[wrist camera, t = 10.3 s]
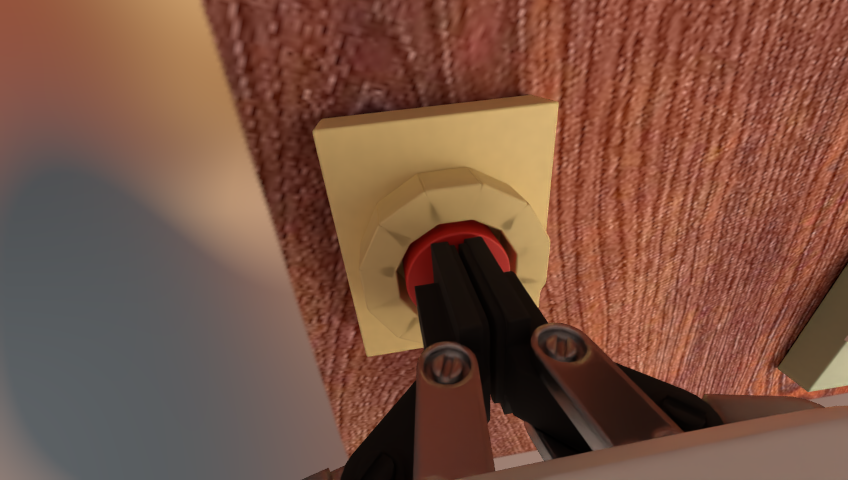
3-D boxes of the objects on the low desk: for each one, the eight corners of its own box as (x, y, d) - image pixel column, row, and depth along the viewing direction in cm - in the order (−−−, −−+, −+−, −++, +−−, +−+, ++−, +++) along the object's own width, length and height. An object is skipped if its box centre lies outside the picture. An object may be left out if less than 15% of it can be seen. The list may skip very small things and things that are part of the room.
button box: (519, 299, 18) (555, 358, 14) (367, 324, 17) (366, 392, 14) (531, 94, 13) (590, 109, 10) (320, 118, 12) (300, 144, 9)
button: (494, 283, 14) (509, 311, 13) (407, 297, 14) (412, 328, 12) (495, 203, 12) (513, 224, 11) (396, 217, 12) (399, 240, 10)
